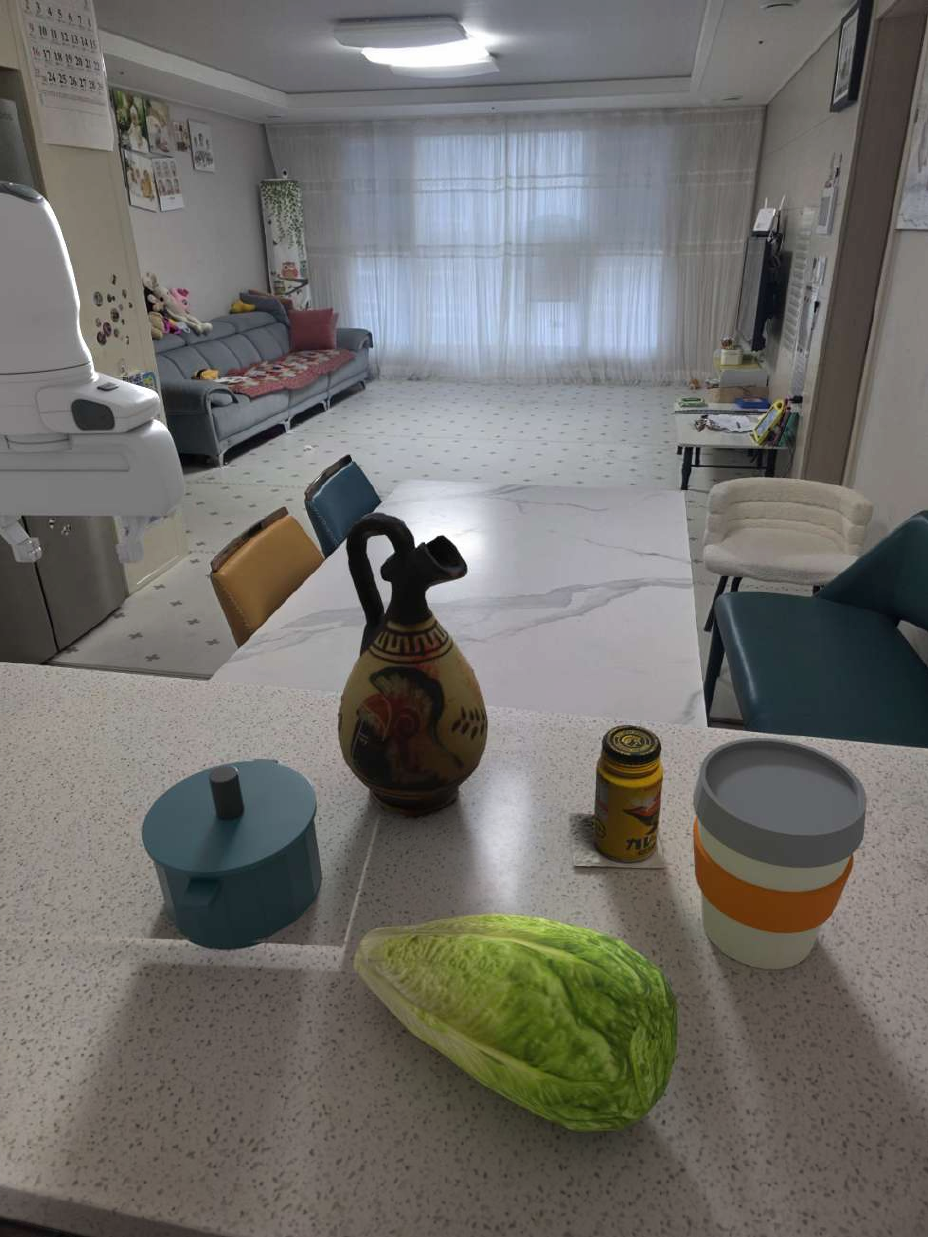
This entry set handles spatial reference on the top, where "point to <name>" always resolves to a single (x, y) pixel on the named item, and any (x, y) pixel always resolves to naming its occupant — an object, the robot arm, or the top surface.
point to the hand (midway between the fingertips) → (80, 560)
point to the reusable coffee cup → (773, 846)
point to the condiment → (623, 804)
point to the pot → (244, 897)
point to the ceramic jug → (409, 679)
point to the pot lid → (229, 819)
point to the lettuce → (533, 1011)
